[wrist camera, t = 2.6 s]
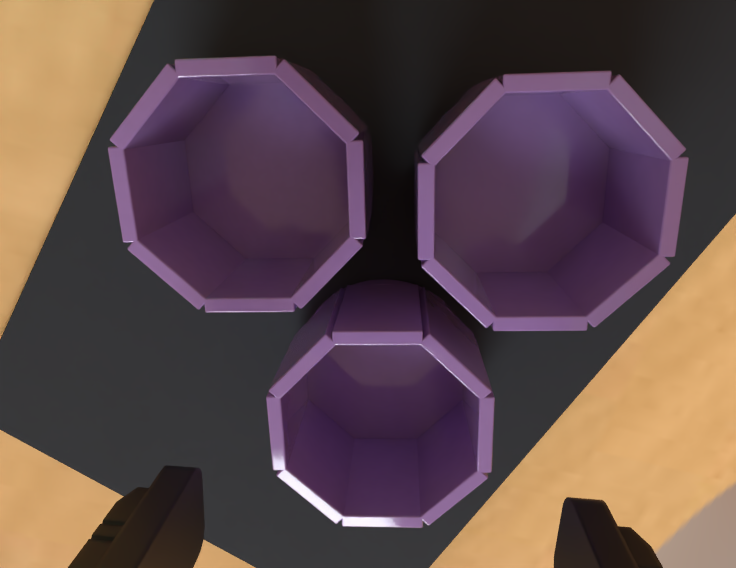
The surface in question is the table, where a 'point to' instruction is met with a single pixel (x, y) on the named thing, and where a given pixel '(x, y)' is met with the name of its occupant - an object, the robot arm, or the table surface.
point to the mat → (372, 262)
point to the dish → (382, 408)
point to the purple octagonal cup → (243, 182)
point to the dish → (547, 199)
